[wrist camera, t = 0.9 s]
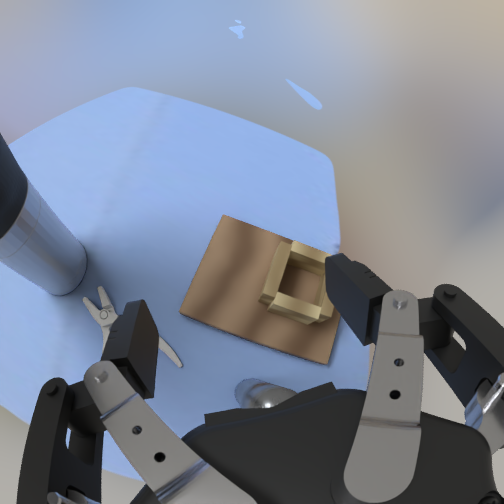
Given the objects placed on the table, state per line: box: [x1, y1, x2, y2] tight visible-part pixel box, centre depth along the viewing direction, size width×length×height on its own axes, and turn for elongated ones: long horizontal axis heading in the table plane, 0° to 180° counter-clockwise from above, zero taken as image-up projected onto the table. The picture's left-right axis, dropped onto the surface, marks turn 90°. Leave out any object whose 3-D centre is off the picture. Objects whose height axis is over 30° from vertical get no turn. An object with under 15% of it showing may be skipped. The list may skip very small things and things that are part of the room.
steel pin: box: [235, 379, 298, 408], centre depth 24 cm, size 4×4×16 cm
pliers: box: [83, 286, 183, 368], centre depth 31 cm, size 10×2×15 cm
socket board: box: [179, 215, 340, 364], centre depth 35 cm, size 20×15×6 cm
